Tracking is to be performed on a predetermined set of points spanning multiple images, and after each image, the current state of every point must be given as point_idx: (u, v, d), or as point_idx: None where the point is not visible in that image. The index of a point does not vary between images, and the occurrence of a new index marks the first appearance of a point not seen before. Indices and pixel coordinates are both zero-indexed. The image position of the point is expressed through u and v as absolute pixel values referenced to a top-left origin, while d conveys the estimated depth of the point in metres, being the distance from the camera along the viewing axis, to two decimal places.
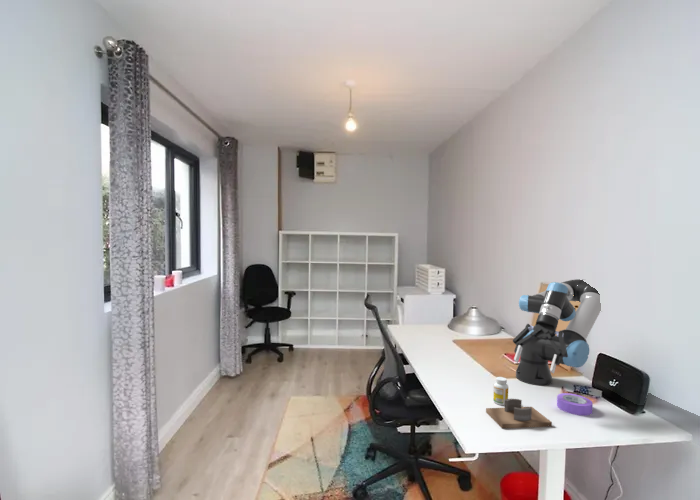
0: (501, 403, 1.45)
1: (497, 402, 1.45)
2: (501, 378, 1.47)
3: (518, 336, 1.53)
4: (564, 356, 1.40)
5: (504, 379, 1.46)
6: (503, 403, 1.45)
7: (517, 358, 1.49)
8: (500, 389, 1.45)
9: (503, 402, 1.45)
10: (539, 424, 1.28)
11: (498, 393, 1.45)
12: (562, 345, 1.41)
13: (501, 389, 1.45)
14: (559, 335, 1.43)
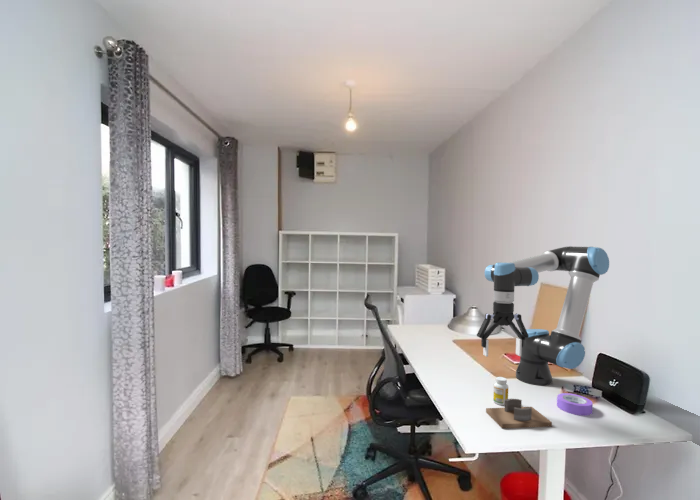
0: (501, 403, 1.45)
1: (497, 402, 1.45)
2: (501, 378, 1.47)
3: (483, 330, 1.44)
4: None
5: (504, 379, 1.46)
6: (503, 403, 1.45)
7: None
8: (500, 389, 1.45)
9: (503, 402, 1.45)
10: (539, 424, 1.28)
11: (498, 393, 1.45)
12: (524, 329, 1.46)
13: (501, 389, 1.45)
14: (519, 319, 1.46)
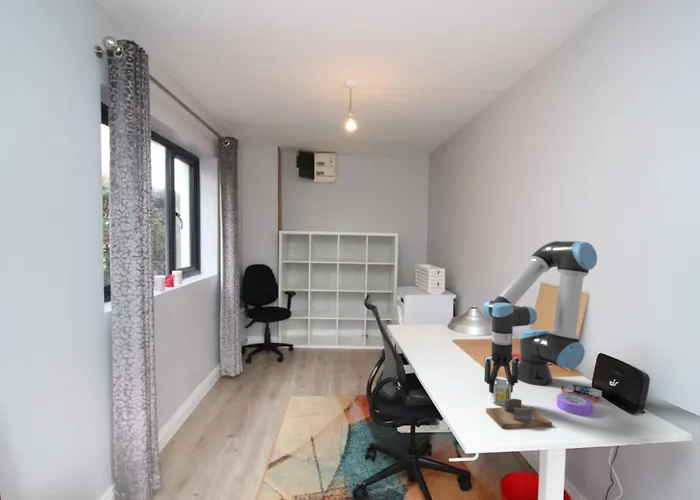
0: (501, 403, 1.45)
1: (497, 402, 1.45)
2: (501, 378, 1.47)
3: (489, 376, 1.45)
4: None
5: (504, 379, 1.46)
6: (503, 403, 1.45)
7: None
8: (500, 389, 1.45)
9: (503, 402, 1.45)
10: (539, 424, 1.28)
11: (498, 393, 1.45)
12: (516, 373, 1.46)
13: (501, 389, 1.45)
14: (516, 363, 1.46)
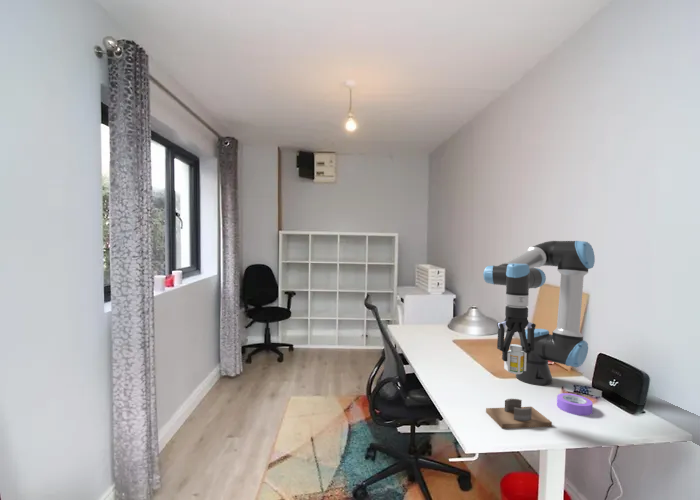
0: (515, 372, 1.32)
1: (511, 371, 1.33)
2: (515, 345, 1.35)
3: (502, 342, 1.33)
4: None
5: (519, 346, 1.34)
6: (518, 371, 1.32)
7: None
8: (515, 356, 1.32)
9: (517, 370, 1.32)
10: (539, 424, 1.28)
11: (512, 361, 1.33)
12: (532, 340, 1.34)
13: (516, 356, 1.32)
14: (532, 329, 1.34)
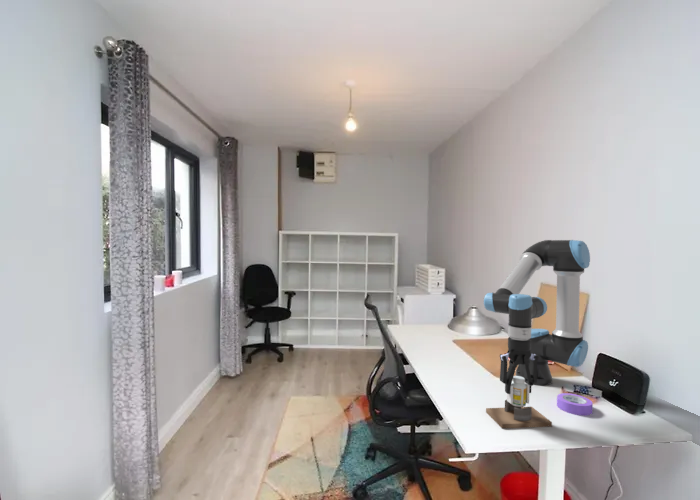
0: (519, 405, 1.31)
1: (514, 404, 1.32)
2: (518, 377, 1.33)
3: (505, 375, 1.31)
4: None
5: (522, 378, 1.32)
6: (521, 404, 1.31)
7: None
8: (518, 389, 1.31)
9: (520, 403, 1.31)
10: (539, 424, 1.28)
11: (515, 394, 1.31)
12: (535, 372, 1.33)
13: (519, 389, 1.31)
14: (535, 361, 1.32)
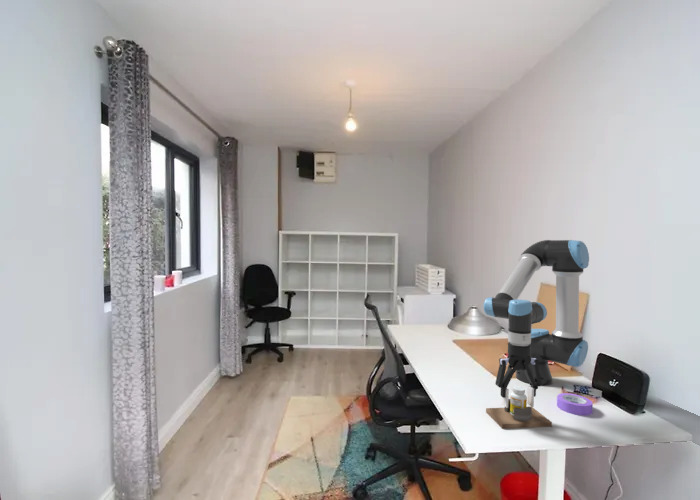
0: None
1: None
2: (519, 388, 1.34)
3: (501, 379, 1.31)
4: None
5: (522, 389, 1.33)
6: None
7: None
8: (518, 400, 1.31)
9: None
10: (539, 424, 1.28)
11: (515, 404, 1.32)
12: (538, 376, 1.33)
13: (519, 400, 1.31)
14: (536, 365, 1.32)
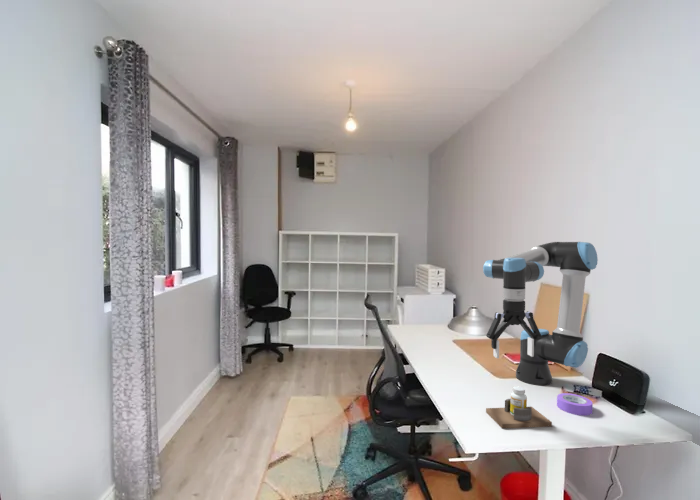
0: None
1: None
2: (519, 388, 1.34)
3: (494, 331, 1.35)
4: None
5: (522, 389, 1.33)
6: None
7: None
8: (518, 400, 1.31)
9: None
10: (539, 424, 1.28)
11: (516, 404, 1.32)
12: (536, 327, 1.37)
13: (519, 400, 1.31)
14: (531, 318, 1.37)
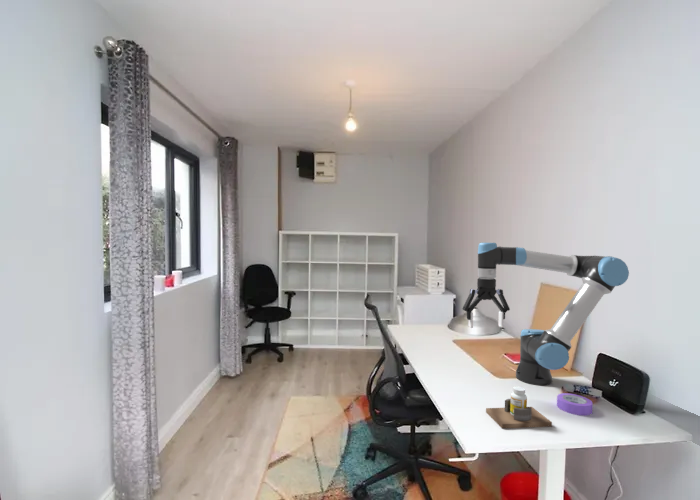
0: None
1: None
2: (519, 388, 1.34)
3: (468, 304, 1.59)
4: None
5: (522, 389, 1.33)
6: None
7: None
8: (518, 400, 1.31)
9: None
10: (539, 424, 1.28)
11: (516, 405, 1.32)
12: (505, 302, 1.60)
13: (519, 400, 1.31)
14: (501, 294, 1.60)
